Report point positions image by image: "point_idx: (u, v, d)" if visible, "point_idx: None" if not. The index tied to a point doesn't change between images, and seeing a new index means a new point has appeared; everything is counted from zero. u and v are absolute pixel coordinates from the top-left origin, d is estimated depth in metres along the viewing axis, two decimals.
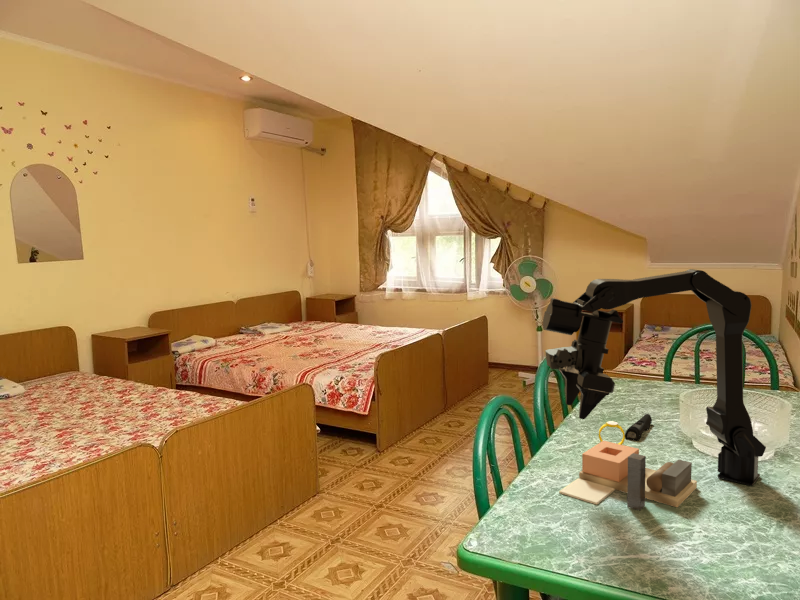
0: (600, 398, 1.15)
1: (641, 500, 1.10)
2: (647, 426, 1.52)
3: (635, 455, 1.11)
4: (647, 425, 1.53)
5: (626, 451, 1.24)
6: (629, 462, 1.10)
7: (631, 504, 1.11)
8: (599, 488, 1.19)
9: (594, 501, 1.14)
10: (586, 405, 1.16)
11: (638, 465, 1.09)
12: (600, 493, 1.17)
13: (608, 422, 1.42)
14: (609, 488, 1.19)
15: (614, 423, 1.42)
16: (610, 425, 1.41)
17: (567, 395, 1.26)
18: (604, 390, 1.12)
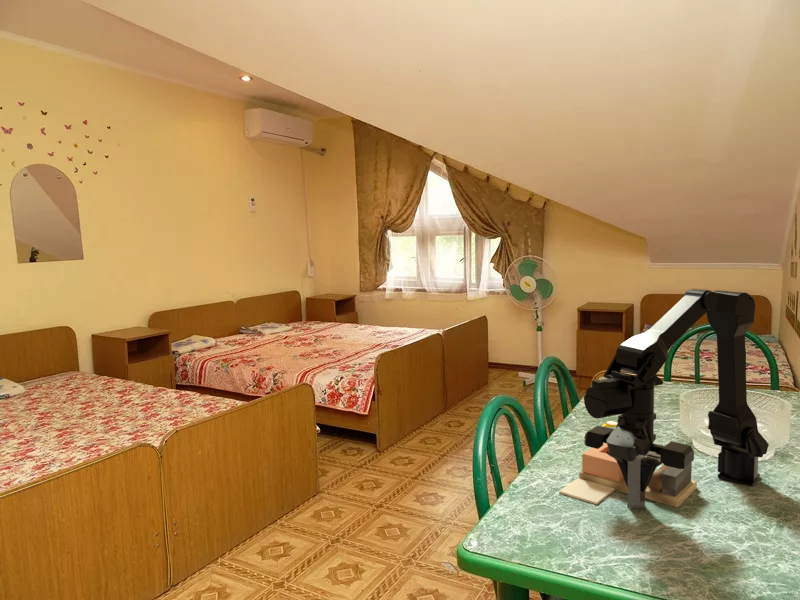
0: None
1: (641, 500, 1.10)
2: None
3: None
4: None
5: None
6: (629, 462, 1.10)
7: (631, 504, 1.11)
8: (599, 488, 1.19)
9: (594, 501, 1.14)
10: (649, 476, 1.09)
11: (638, 465, 1.09)
12: (600, 493, 1.17)
13: (608, 422, 1.42)
14: (609, 488, 1.19)
15: (614, 423, 1.41)
16: (610, 425, 1.41)
17: None
18: (691, 461, 1.05)
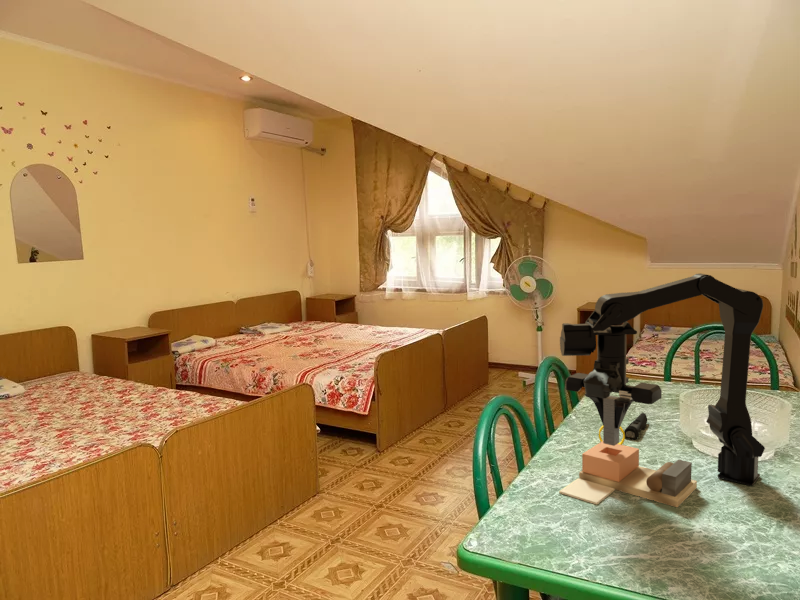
0: (630, 403, 1.23)
1: (615, 436, 1.23)
2: (644, 425, 1.53)
3: (610, 396, 1.24)
4: (644, 424, 1.53)
5: (626, 451, 1.24)
6: (604, 402, 1.23)
7: (606, 440, 1.24)
8: (599, 488, 1.19)
9: (594, 501, 1.14)
10: (622, 414, 1.22)
11: (612, 405, 1.22)
12: (600, 493, 1.17)
13: None
14: (609, 488, 1.19)
15: None
16: None
17: None
18: (658, 398, 1.18)
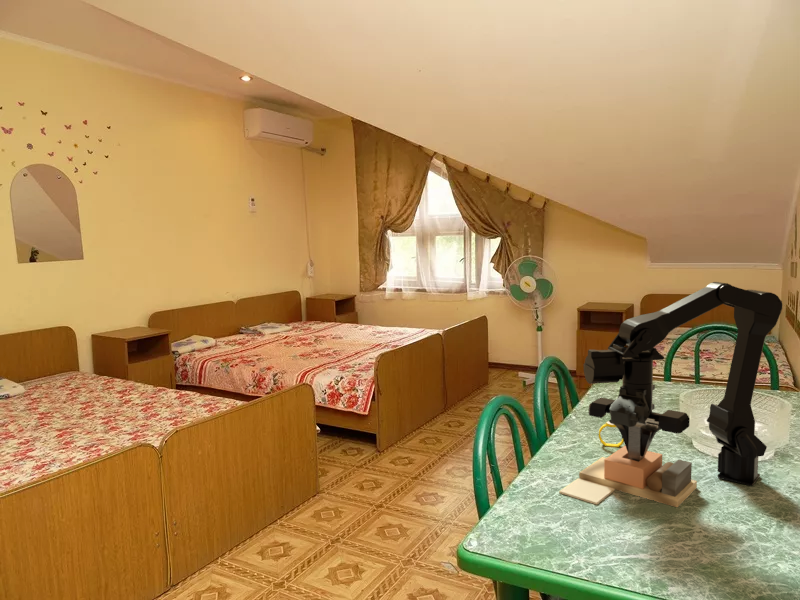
0: None
1: None
2: None
3: None
4: None
5: (649, 457, 1.21)
6: (630, 429, 1.20)
7: None
8: (599, 488, 1.19)
9: (594, 501, 1.14)
10: (648, 442, 1.19)
11: (638, 432, 1.19)
12: (600, 493, 1.17)
13: (608, 422, 1.42)
14: (609, 488, 1.19)
15: None
16: (610, 425, 1.41)
17: None
18: (686, 426, 1.14)
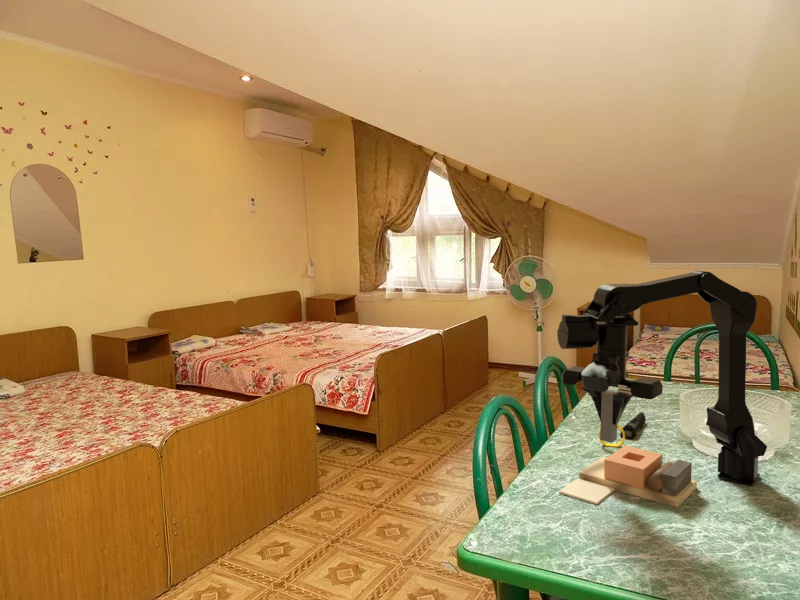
0: (629, 398, 1.17)
1: (613, 433, 1.18)
2: (642, 425, 1.53)
3: (609, 391, 1.18)
4: (642, 423, 1.54)
5: (649, 457, 1.21)
6: (603, 397, 1.18)
7: (603, 437, 1.18)
8: (599, 488, 1.19)
9: (594, 501, 1.14)
10: (621, 410, 1.17)
11: (611, 400, 1.17)
12: (600, 493, 1.17)
13: None
14: (609, 488, 1.19)
15: None
16: None
17: None
18: (659, 393, 1.12)
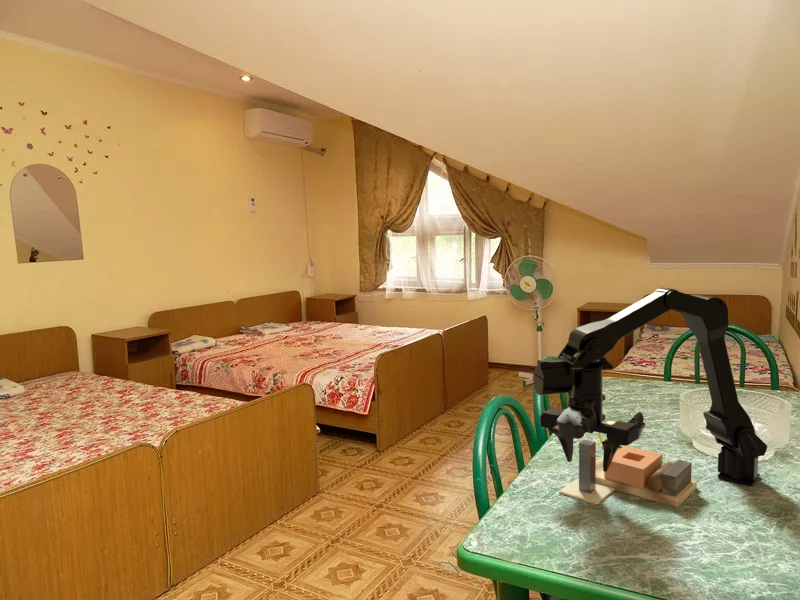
0: None
1: (591, 483, 1.17)
2: (640, 425, 1.54)
3: (586, 441, 1.18)
4: (640, 423, 1.54)
5: (649, 457, 1.21)
6: (580, 448, 1.17)
7: (582, 487, 1.18)
8: (599, 488, 1.19)
9: (594, 501, 1.14)
10: (610, 457, 1.14)
11: (588, 451, 1.16)
12: (600, 493, 1.17)
13: (608, 422, 1.42)
14: (609, 488, 1.19)
15: None
16: None
17: (568, 453, 1.20)
18: (635, 438, 1.11)
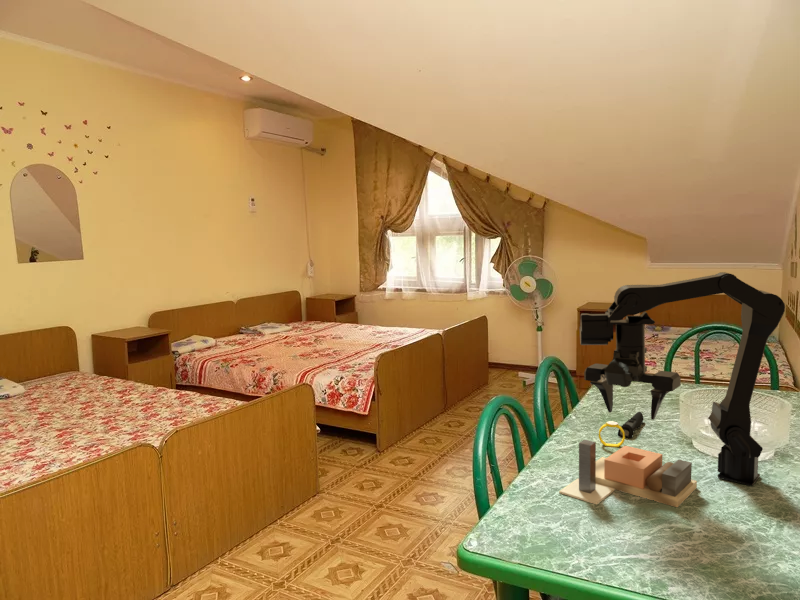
0: (665, 393, 1.23)
1: (591, 483, 1.17)
2: (640, 424, 1.54)
3: (586, 441, 1.18)
4: (639, 422, 1.54)
5: (649, 457, 1.21)
6: (580, 448, 1.17)
7: (582, 487, 1.18)
8: (599, 488, 1.19)
9: (594, 501, 1.14)
10: (658, 405, 1.22)
11: (588, 451, 1.16)
12: (600, 493, 1.17)
13: (608, 422, 1.42)
14: (609, 488, 1.19)
15: (614, 423, 1.42)
16: (610, 425, 1.41)
17: (609, 404, 1.29)
18: (678, 385, 1.20)
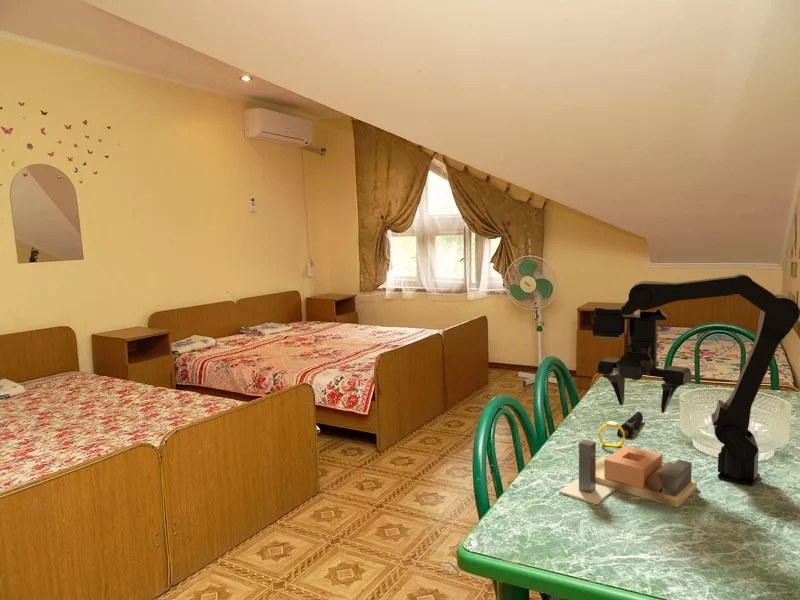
0: (675, 388, 1.26)
1: (591, 483, 1.17)
2: (639, 424, 1.54)
3: (586, 441, 1.18)
4: (639, 422, 1.54)
5: (649, 457, 1.21)
6: (580, 448, 1.17)
7: (582, 487, 1.18)
8: (599, 488, 1.19)
9: (594, 501, 1.14)
10: (668, 399, 1.25)
11: (588, 451, 1.16)
12: (600, 493, 1.17)
13: (608, 422, 1.42)
14: (609, 488, 1.19)
15: (614, 423, 1.42)
16: (610, 425, 1.41)
17: (620, 396, 1.32)
18: (689, 380, 1.23)
